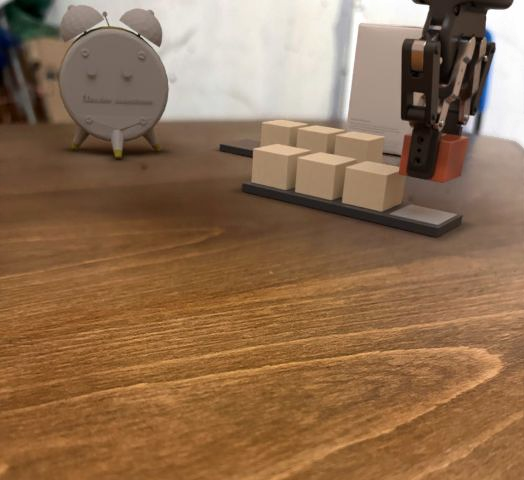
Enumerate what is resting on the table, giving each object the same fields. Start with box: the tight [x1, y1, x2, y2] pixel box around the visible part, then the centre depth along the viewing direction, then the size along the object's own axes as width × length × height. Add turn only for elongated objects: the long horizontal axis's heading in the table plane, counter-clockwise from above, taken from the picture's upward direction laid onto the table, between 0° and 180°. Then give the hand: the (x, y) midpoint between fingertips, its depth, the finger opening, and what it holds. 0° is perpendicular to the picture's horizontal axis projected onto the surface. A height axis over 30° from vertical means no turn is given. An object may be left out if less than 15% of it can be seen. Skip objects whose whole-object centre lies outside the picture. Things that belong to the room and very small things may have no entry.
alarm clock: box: [58, 4, 170, 160], centre depth 73 cm, size 12×7×15 cm, turn 102°
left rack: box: [219, 119, 385, 164], centre depth 78 cm, size 6×20×4 cm, turn 55°
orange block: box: [398, 133, 469, 184], centre depth 55 cm, size 4×4×3 cm
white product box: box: [345, 22, 424, 157], centre depth 87 cm, size 9×9×15 cm
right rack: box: [241, 144, 464, 238], centre depth 61 cm, size 6×20×4 cm, turn 55°
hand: (430, 172), depth 56 cm, fingers closed on orange block, 4 cm apart
